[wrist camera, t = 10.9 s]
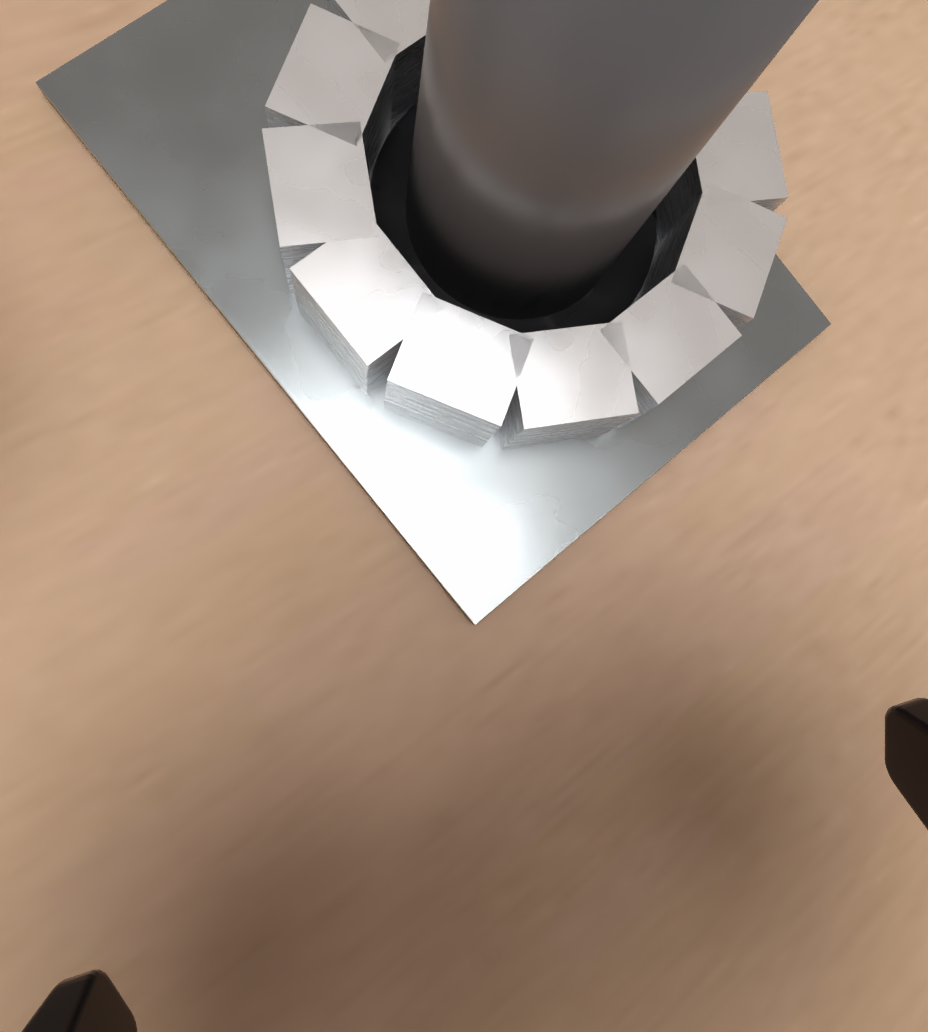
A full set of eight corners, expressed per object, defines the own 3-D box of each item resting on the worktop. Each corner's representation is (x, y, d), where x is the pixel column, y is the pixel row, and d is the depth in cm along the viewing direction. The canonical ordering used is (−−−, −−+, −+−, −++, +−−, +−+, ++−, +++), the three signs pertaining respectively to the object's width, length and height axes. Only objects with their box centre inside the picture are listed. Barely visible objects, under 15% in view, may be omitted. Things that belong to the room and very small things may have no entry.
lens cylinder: (655, 185, 19) (1046, -342, 8) (555, 362, 18) (840, 37, 7) (472, 69, 19) (628, -643, 8) (362, 245, 18) (365, -277, 7)
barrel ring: (837, 315, 20) (916, 271, 17) (472, 623, 18) (493, 631, 15) (456, -166, 20) (472, -291, 17) (42, 93, 18) (-18, 0, 15)
